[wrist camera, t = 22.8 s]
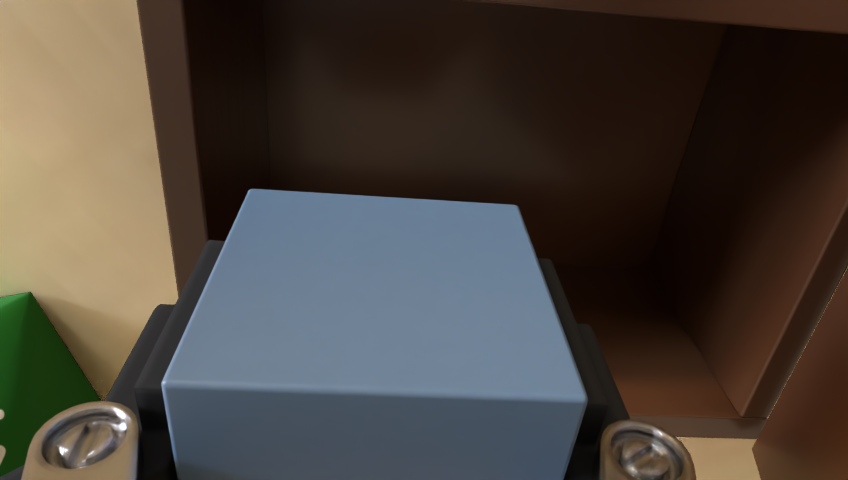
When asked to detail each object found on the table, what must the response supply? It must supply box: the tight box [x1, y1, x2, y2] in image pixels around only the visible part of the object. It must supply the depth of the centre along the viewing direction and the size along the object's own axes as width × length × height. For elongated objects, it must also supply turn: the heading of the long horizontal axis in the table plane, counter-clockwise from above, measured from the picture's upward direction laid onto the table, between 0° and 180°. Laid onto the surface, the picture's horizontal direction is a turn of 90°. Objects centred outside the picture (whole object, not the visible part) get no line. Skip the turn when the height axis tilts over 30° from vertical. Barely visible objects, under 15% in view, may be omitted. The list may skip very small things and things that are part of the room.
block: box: [161, 189, 588, 480], centre depth 11 cm, size 5×5×5 cm
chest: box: [137, 0, 848, 439], centre depth 19 cm, size 17×13×9 cm
